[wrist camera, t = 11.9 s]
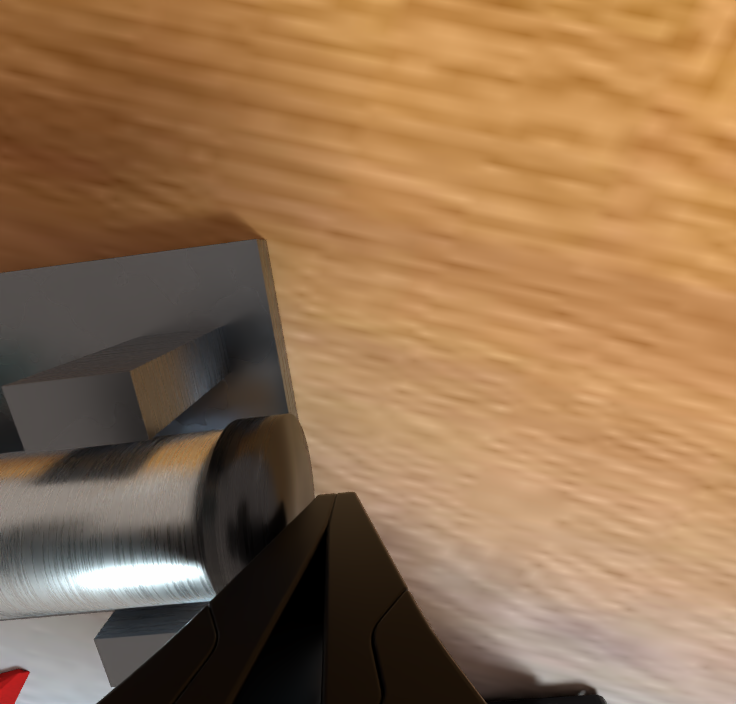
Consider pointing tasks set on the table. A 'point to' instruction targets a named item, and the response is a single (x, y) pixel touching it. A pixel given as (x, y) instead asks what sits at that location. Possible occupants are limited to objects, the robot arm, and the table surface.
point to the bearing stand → (140, 372)
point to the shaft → (146, 516)
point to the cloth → (11, 685)
